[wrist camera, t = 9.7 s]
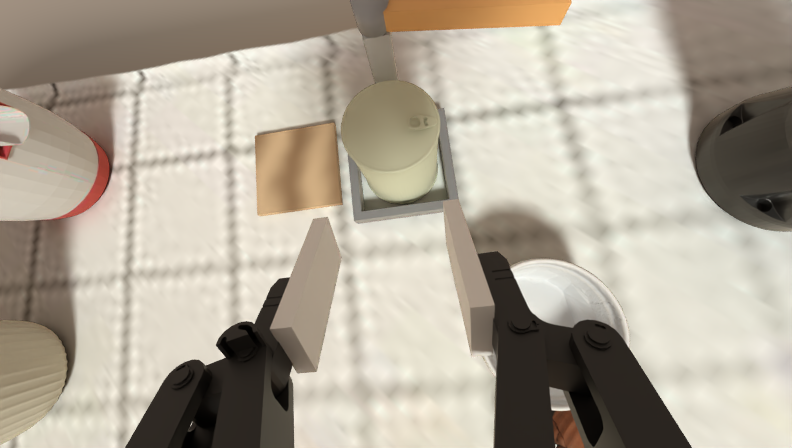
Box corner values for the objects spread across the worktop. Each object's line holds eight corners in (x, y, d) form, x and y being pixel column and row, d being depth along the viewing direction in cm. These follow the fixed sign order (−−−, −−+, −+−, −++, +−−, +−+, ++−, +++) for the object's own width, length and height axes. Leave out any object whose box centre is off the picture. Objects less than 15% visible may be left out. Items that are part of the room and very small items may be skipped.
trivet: (335, 125, 41) (334, 122, 40) (342, 204, 39) (340, 203, 38) (258, 138, 42) (254, 135, 41) (260, 216, 40) (257, 214, 39)
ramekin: (456, 273, 36) (462, 272, 29) (569, 251, 35) (603, 244, 28) (483, 393, 33) (497, 423, 27) (606, 372, 32) (654, 398, 26)
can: (440, 202, 37) (444, 167, 26) (366, 206, 38) (338, 175, 27) (435, 132, 39) (437, 70, 27) (365, 138, 40) (338, 81, 28)
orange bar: (358, 7, 26) (351, -20, 24) (558, -3, 24) (573, -34, 22) (356, 38, 26) (348, 13, 23) (560, 30, 24) (574, 2, 22)
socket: (440, 96, 40) (445, -1, 26) (458, 209, 37) (474, 169, 23) (347, 111, 41) (304, 26, 27) (357, 223, 38) (316, 193, 24)
